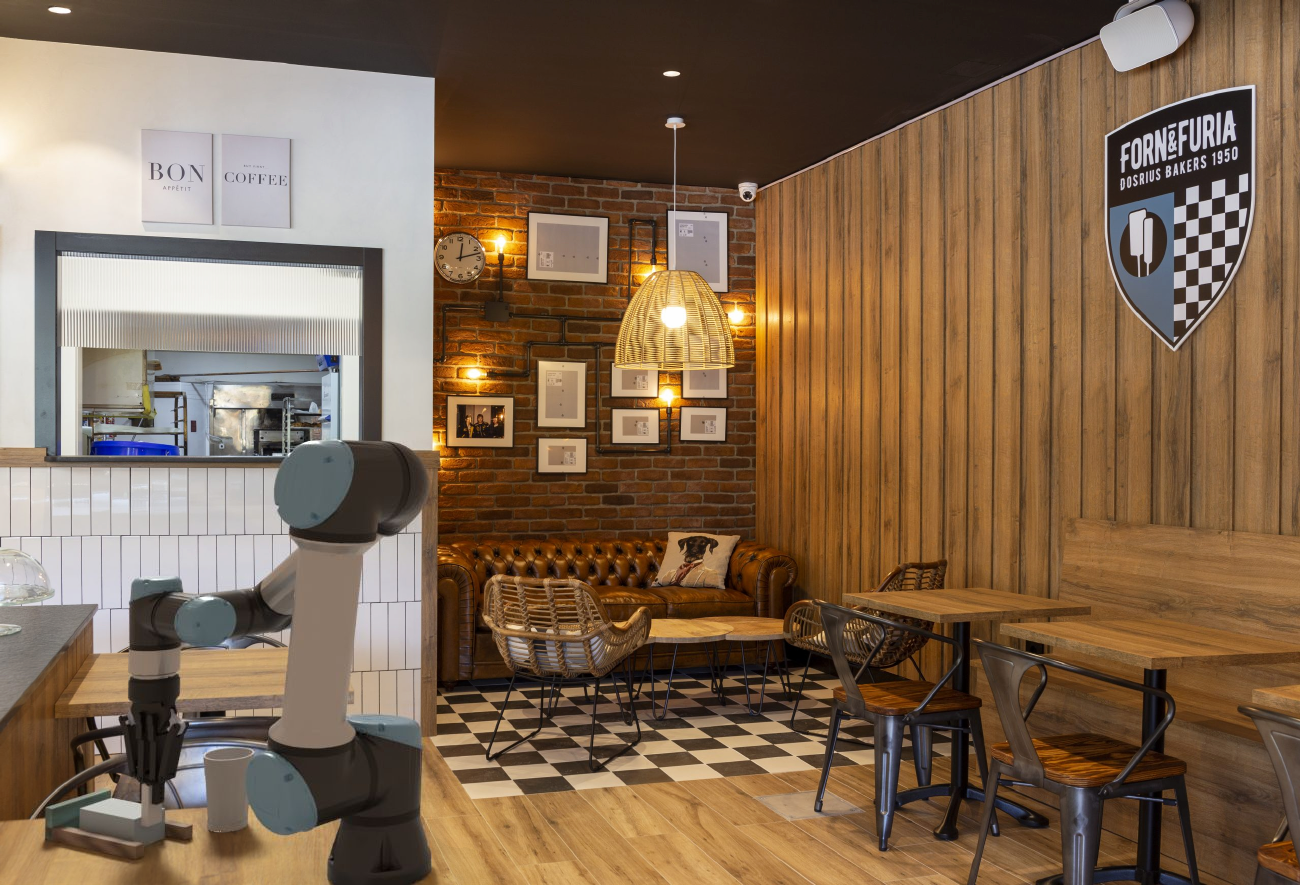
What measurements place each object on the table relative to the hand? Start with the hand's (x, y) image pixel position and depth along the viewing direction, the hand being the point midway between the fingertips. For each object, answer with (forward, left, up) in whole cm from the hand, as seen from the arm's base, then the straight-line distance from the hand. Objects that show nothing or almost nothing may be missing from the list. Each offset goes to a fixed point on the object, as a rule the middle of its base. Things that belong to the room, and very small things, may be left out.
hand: (151, 823), depth 172 cm
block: (+7, 0, -4) cm, 8 cm away
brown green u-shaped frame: (+7, 0, -3) cm, 8 cm away
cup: (-4, -12, -4) cm, 13 cm away
